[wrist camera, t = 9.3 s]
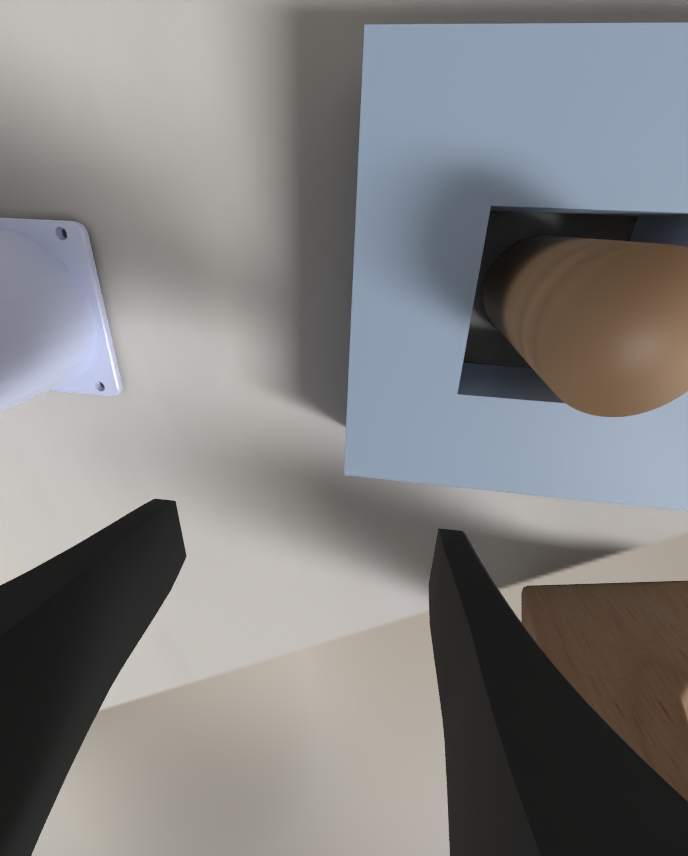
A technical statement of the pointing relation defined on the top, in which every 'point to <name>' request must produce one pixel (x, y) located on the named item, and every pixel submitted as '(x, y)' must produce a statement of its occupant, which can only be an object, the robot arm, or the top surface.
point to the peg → (596, 319)
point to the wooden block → (623, 660)
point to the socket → (465, 235)
